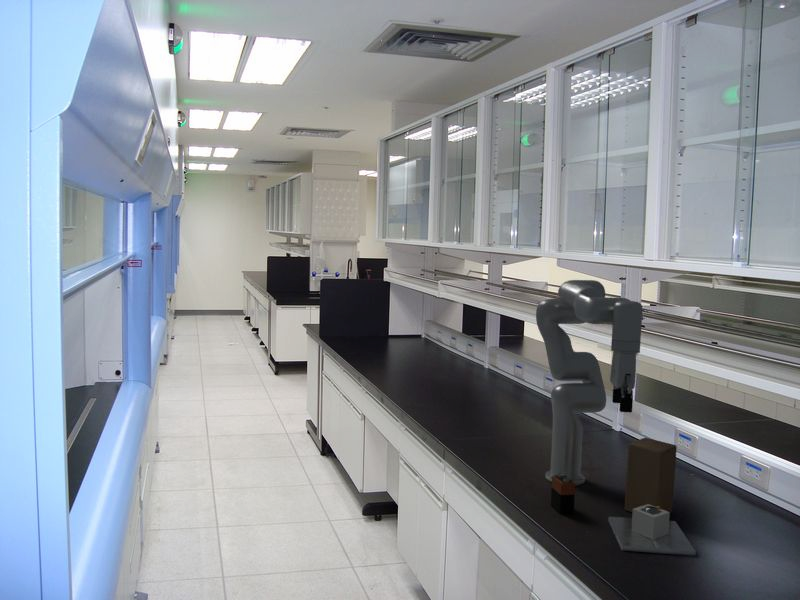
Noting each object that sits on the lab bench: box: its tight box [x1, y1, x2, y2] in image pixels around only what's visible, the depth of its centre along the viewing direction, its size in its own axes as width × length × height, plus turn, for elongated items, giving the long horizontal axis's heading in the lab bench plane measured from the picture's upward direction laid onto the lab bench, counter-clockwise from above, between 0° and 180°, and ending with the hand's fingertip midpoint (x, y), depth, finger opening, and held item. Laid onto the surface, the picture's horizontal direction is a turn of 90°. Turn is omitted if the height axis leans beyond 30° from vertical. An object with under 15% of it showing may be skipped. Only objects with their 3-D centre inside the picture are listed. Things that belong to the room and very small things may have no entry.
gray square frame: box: [631, 504, 671, 540], centre depth 182 cm, size 7×7×6 cm
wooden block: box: [624, 437, 678, 513], centre depth 199 cm, size 10×10×20 cm
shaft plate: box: [607, 506, 697, 557], centre depth 182 cm, size 18×18×8 cm
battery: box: [550, 473, 576, 515], centre depth 199 cm, size 4×7×10 cm, turn 13°
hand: (621, 407), depth 190 cm, fingers open, 9 cm apart
